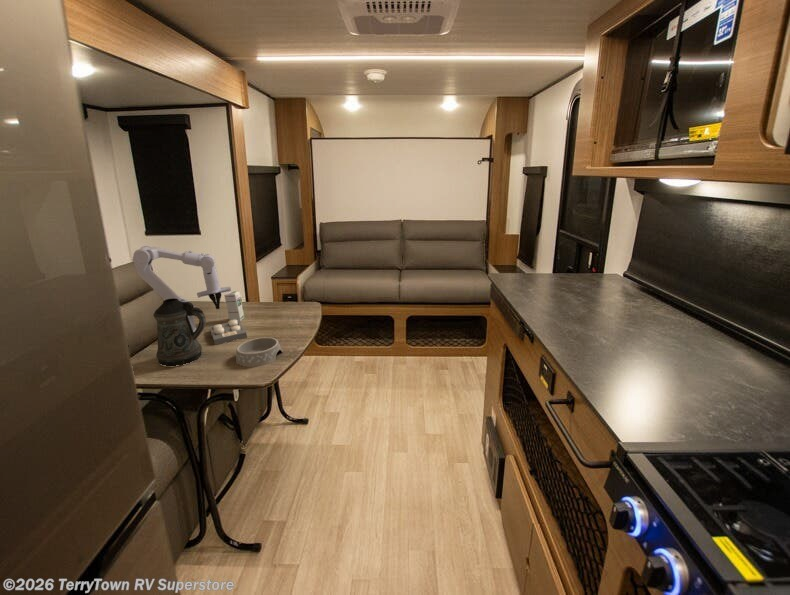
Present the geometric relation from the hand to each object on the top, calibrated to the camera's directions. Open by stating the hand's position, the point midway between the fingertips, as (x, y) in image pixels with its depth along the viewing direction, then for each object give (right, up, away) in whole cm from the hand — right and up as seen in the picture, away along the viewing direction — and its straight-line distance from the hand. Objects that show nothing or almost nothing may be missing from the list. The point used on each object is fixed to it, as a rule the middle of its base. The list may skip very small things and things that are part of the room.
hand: (217, 308), depth 192 cm
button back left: (+1, -11, -2) cm, 11 cm away
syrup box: (+3, -6, +15) cm, 16 cm away
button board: (+6, -12, -4) cm, 14 cm away
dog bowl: (+29, -19, -28) cm, 45 cm away
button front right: (+11, -11, -4) cm, 16 cm away
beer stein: (-2, -19, -26) cm, 32 cm away
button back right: (+7, -9, +1) cm, 11 cm away
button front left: (+4, -12, -8) cm, 15 cm away
